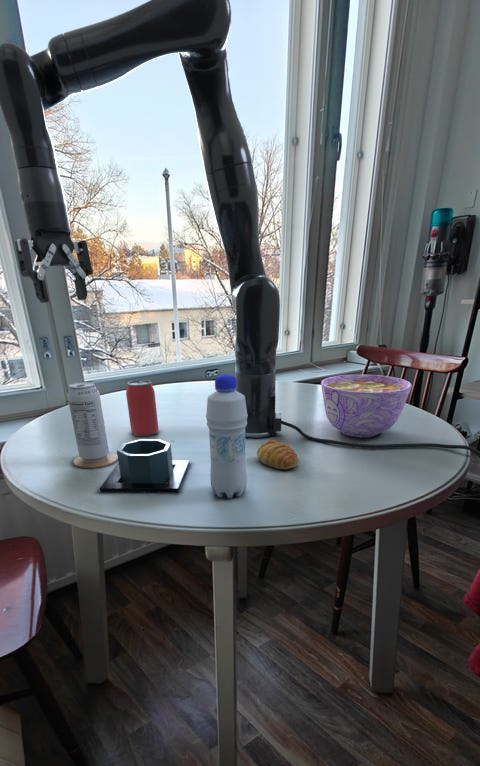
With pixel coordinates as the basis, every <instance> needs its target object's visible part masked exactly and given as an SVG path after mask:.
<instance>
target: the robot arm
mask: <svg viewBox="0 0 480 766" xmlns="http://www.w3.org/2000/svg"><path fill="white" fill-rule="evenodd" d="M231 7H232V6H231V2H230V0H148V1H146V2H144V3H142V4H140V5H138V6H136V7H134V8H132V9H129V10H127V11H125V12H122V13H120V14H118V15H115V16H113V17H110V18H107V19H104V20H102V21H101V20H100V21H99V22H96V23H92V24H89V25H86V26H82V27H79V28H75V29H72V30H69V31H66V32H63V33H60V34H56V35H54V36H53V37H52V38H50V39H49V41H48V43H47V47H46V49H44V50H41V51H39V52H37V53H34V54H32V55H29V53H28V52H27V51H26V50H25V49H24V48H22V47H21V46H20V45H18V44H16V43H15V42H10V41H4V42H1V43H0V109H1V113H2V116H3V119H4V122H5V125H6V127H7V131H8V135H9V138H10V145H11V151H12V156H13V160H14V164H15V165H14V166H15V169H16V174H17V183H18V189H19V194H20V199H21V204H22V207H23V212H24V216H25V217H24V218H25V221H26V225H27V230H28V232H29V233H30V239H27V238H25V237H22V238H17V239H15V240H14V245H15V250H16V256H17V261H18V266H19V272H20V275H21V277H24V278H27V279H30V280H31V281H32V283H33V287H34V292H35V296H36V299H37V300H38V301H39V302H40V303H43V304H44V303H49V302H50V299H49V294H48V288H47V284H46V281H45V280H44V277H45V275H46V272H47V271H48V269H49V268H50V267H64V268H65V269H66V270H67V271H69V273H71V275H72V277H73V278H74V279H73V283H74V288H75V293H76V298H77V300H78V301H86V300H87V297H88V289H87V284H86V283H87V282H86V278H87V277H88V276H92V275H93V273H94V271H93V270H94V269H93V266H92V262H91V257H90V253H89V248H88V243H87V241H86V240H85V239H83V240H82V239H80V240H75V241H73V238H72V237H71V231H72V230H71V223H70V217H69V212H68V207H67V202H66V201H67V200H66V197H65V196H66V195H65V190H64V186H63V182H62V179H61V176H60V171H59V166H58V161H57V155H56V150H55V145H54V142H53V141H54V140H53V137H52V136H51V133H50V131H49V129H48V126H47V121H46V117H45V111H48V110H50V109H52V108H53V107H54V106H57V105H59V104H60V103H63V102H64V101H66V100H67V99H68V98H70V97H72V96H74V95H79V94H83V93H87V92H90V91H93V90H95V89H98V88H102V87H105V86H107V85H109V84H112V83H114V82H116V81H119V80H120V79H123V78H124V77H125V76H127V75H128V74H130V73H131V72H133V71H134V70H136V69H138V68H140V67H141V66H142V65H145V64H146V63H149V62H151V61H153V60H156V59H159V58H162V57H164V56H169V55H173V54H178V58H179V60H180V64H181V67H182V70H183V74H184V78H185V80H186V85H187V87H188V91H189V94H190V98H191V102H192V105H193V110H194V114H195V120H196V128H197V137H198V143H199V148H200V155H201V160H202V166H203V171H204V177H205V182H206V186H207V191H208V195H209V199H210V203H211V207H212V211H213V215H214V219H215V223H216V226H217V229H218V234H219V236H220V240H221V243H222V246H223V251H224V255H225V258H226V262H227V263H226V265H227V271H228V278H229V285H230V287H229V289H230V296H231V304H232V308H233V310H234V313H235V328H236V329H235V330H236V331H235V333H236V334H235V335H236V336H235V343H234V377H235V378H236V382H237V387H236V388H237V389H236V390H235V391H237V392H239V393H241V394H243V395H244V396H245V402H246V409H247V415H248V416H247V425H246V427H245V438H251V439H260V438H267V437H275V436H276V432H282V426H286V427H289V428H291V429H293V430H295V431H296V432H298V434H299V435H300V436H301V437H303V438H304V439H307V440H310V441H313V442H316V443H317V442H318V443H324V444H325V443H326V444H333V445H339V446H344V447H345V446H346V447H351V448H353V447H354V448H364V449H389V448H441V449H452V450H453V449H457V450H467V451H470V452H472V453H474V454H475V455H476V456H477V457H478V458H480V451H479V449H477V448H475V447H473V446H470V445H464V444H444V443H433V442H432V443H428V442H424V443H423V442H420V443H419V442H417V443H416V442H414V443H383V444H381V443H379V444H378V443H377V444H375V443H373V444H372V443H371V444H370V443H356V442H348V441H341V440H335V439H327V438H319V437H314V436H310V435H308V434H307V433H305V432H304V431H303V430H302V429H301V428H300V427H298V426H296V425H295V424H292V423H290V422H286V421H285V420H282V413H281V412H276V397H277V395H276V377H277V376H276V375H277V371H276V370H277V349H278V345H279V340H280V321H281V319H280V317H281V315H280V314H281V299H280V298H281V297H280V292H279V290H278V287H277V285H276V284H275V282H273V280H272V279H270V278H269V277H267V273H266V271H265V266H264V262H263V258H262V253H261V247H260V227H259V226H260V224H259V223H260V218H259V217H260V215H259V212H260V211H259V193H258V185H257V180H256V174H255V169H254V163H253V157H252V153H251V149H250V146H249V145H250V144H249V141H248V140H247V137H246V132H245V131H244V128H243V126H242V123H241V120H240V118H239V114H238V112H237V109H236V106H235V102H234V98H233V93H232V87H231V80H230V71H229V64H228V62H229V61H228V53H227V43H228V39H229V34H230V31H231V24H232V8H231ZM32 250H33V252H34V253H35V254H36V256H35V257H34V262H33V261H32V256H31V253H32ZM73 253H76V257H77V258H76V257H75V255H74V254H73ZM448 624H449V625H453V622H449V623H448Z"/></svg>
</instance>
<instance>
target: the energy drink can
mask: <svg viewBox="0 0 480 766" xmlns="http://www.w3.org/2000/svg"><path fill="white" fill-rule="evenodd" d="M66 395H67V396H66V398H67V400H68V407H69V411H70V416H71V421H72V426H73V431H74V437H75V441H76V447H77V451H78V456H80V457H81V458H82V459H83V461H84V462H89V463H94V462H100V461H103V460H105V459H107V455H108V454H109V452H110V449H109V443H108V437H107V436H108V435H107V431H106V425H105V419H104V418H105V417H104V413H103V407H102V400H101V394H100V391H99V390H98V388H97V387H96V384H95V382H90V381H87V382H86V381H84V382H83V381H82V382H81V381H80V382H74V383H71V384H69V385H68V391H67V394H66Z"/></svg>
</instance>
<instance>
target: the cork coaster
mask: <svg viewBox="0 0 480 766" xmlns="http://www.w3.org/2000/svg"><path fill="white" fill-rule="evenodd" d="M116 462H118V456H117V453H115V452H111V451H109V454H108V455H107V459H105V460H103V461H100V462H94V463H89V462H84V461H83V459H82V458H81V457H80V456H79V455H78V456H76V457H75V458H74V459H73V465H74V466H75V467H77V468H81V469H98V468H104V467H108V466H111V465H113V464H115V463H116Z"/></svg>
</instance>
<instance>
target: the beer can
mask: <svg viewBox="0 0 480 766" xmlns="http://www.w3.org/2000/svg"><path fill="white" fill-rule="evenodd" d="M125 396H126V397H125V398H126V403H127V410H128V411H127V412H128V419H129V425H130V432H131V433H132V435H134V436H138V437H149V436H153V435H155V434H157V433H158V432H159V430H160V429H159V420H158V409H157V401H156V392H155V389H154V387H153V384H152V381H151V380H146V379H138V380H130V381H128V382H127V383H126V390H125Z"/></svg>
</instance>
